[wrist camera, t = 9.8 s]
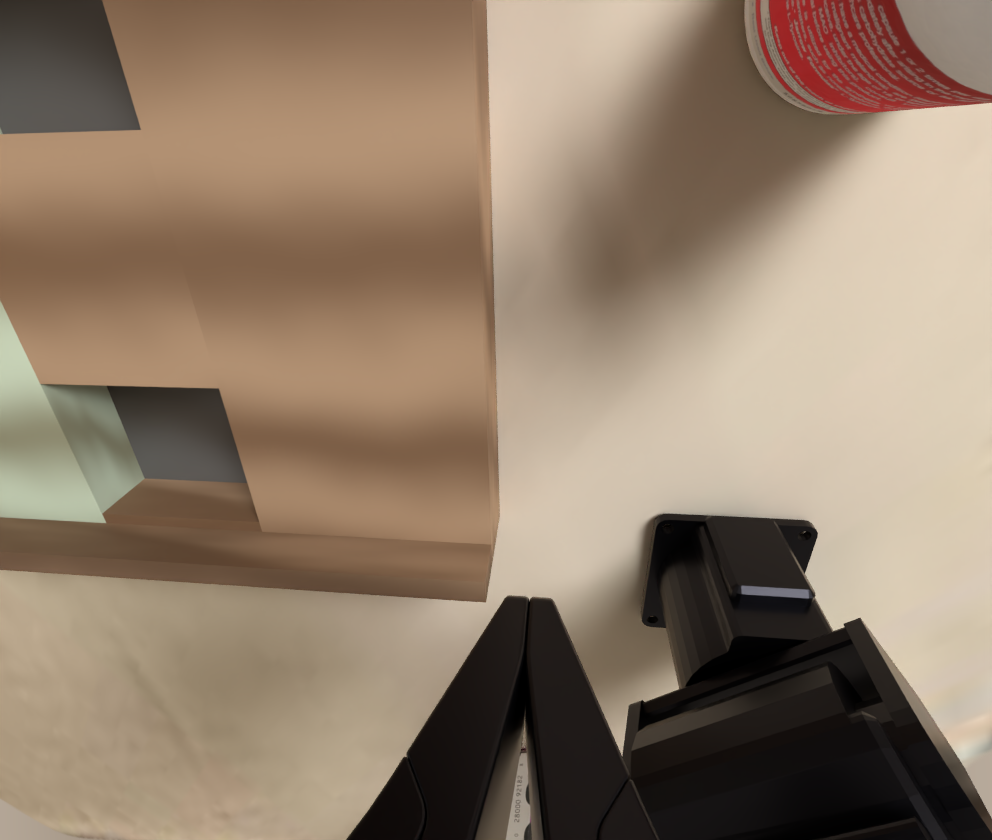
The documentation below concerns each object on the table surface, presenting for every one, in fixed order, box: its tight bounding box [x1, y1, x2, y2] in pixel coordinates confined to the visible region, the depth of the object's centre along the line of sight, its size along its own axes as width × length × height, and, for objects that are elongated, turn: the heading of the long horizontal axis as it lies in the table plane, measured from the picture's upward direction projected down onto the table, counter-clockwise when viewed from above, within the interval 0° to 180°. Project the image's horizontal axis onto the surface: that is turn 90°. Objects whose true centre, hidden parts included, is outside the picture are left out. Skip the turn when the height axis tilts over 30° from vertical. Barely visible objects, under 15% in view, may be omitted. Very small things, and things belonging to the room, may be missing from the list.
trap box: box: [0, 0, 500, 602], centre depth 17 cm, size 23×25×5 cm
